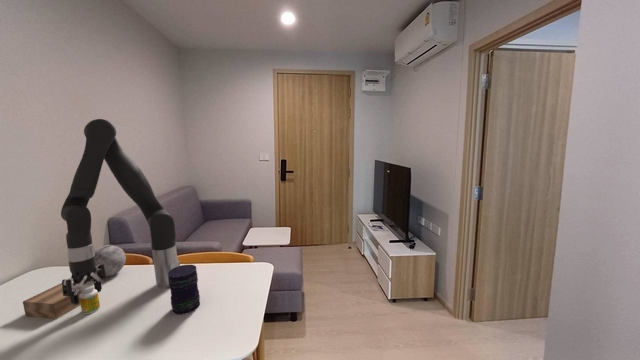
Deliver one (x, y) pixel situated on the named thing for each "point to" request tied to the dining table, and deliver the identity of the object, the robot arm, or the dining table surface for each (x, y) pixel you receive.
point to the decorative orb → (110, 259)
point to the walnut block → (50, 303)
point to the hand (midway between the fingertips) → (87, 297)
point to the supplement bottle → (89, 299)
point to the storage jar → (184, 289)
